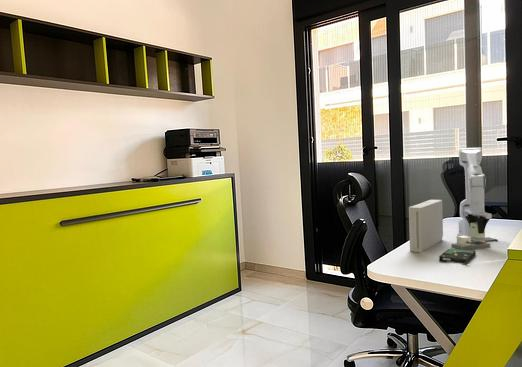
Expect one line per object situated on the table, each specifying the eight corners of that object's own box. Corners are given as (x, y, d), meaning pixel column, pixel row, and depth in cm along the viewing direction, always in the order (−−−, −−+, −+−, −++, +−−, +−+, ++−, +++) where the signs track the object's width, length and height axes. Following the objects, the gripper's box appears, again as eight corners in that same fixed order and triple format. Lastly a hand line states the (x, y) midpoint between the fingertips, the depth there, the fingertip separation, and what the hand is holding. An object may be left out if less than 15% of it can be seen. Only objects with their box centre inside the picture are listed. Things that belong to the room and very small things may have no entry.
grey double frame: (451, 247, 179) (451, 242, 179) (478, 244, 182) (478, 239, 182) (462, 251, 172) (462, 246, 172) (490, 248, 175) (490, 243, 175)
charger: (478, 235, 180) (477, 222, 179) (484, 236, 176) (484, 223, 175) (470, 236, 179) (470, 222, 178) (477, 237, 175) (476, 224, 174)
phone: (468, 241, 189) (468, 239, 188) (488, 239, 191) (488, 236, 191) (477, 244, 183) (477, 241, 183) (497, 241, 186) (497, 239, 185)
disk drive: (467, 266, 153) (475, 257, 165) (467, 259, 153) (475, 250, 164) (438, 262, 160) (449, 253, 171) (438, 256, 160) (448, 247, 171)
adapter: (456, 247, 178) (456, 236, 177) (464, 246, 179) (464, 235, 178) (468, 251, 171) (468, 239, 170) (476, 250, 171) (476, 238, 171)
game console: (408, 251, 178) (407, 207, 176) (430, 239, 197) (430, 199, 196) (421, 253, 174) (420, 207, 172) (443, 240, 193) (442, 199, 192)
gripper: (457, 201, 182) (458, 230, 183) (481, 204, 168) (481, 236, 169) (470, 199, 184) (471, 228, 185) (495, 203, 170) (496, 234, 171)
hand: (477, 232), depth 177 cm, fingers closed on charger, 4 cm apart
